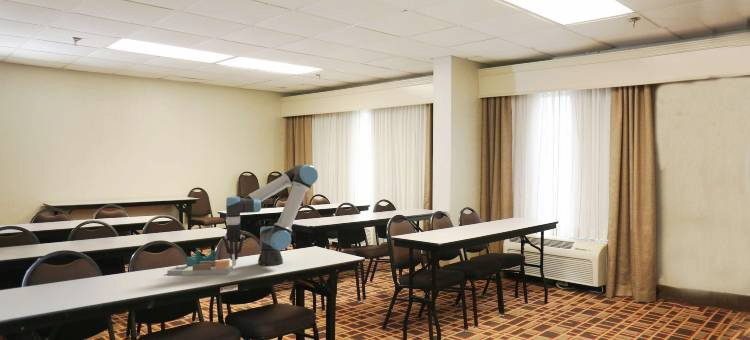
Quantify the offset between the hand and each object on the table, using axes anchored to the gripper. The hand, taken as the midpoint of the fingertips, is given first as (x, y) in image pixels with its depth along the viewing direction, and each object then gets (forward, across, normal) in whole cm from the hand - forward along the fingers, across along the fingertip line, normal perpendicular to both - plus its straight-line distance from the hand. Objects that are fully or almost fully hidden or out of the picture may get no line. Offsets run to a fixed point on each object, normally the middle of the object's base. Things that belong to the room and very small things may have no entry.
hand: (234, 265), depth 300 cm
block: (+2, +7, 0) cm, 7 cm away
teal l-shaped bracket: (+4, +27, -18) cm, 33 cm away
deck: (+4, +19, 0) cm, 19 cm away
